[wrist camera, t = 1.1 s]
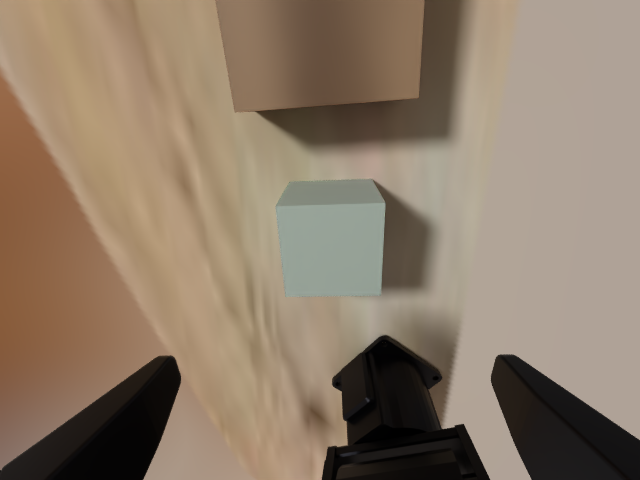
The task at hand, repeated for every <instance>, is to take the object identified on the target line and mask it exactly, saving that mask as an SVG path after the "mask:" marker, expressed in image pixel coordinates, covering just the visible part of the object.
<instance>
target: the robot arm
mask: <svg viewBox="0 0 640 480" xmlns="http://www.w3.org/2000/svg"><path fill="white" fill-rule="evenodd" d="M383 342H386V343H383ZM441 379H442V376H441V374H440V372H439V371H438V370H437V369H435V368H434V367H432V366H431V365H429V364H428V363H426V362H425V361H423V360H422V359H420V358H419V357H417V356H416V355H414V354H413V353H411V352H410V351H408V350H407V349H405V348H404V347H402V346H401V345H399V344H398V343H396V342H395V341H393V340H392V339H390V338H389V337H387V336H380V337H379V338H378V339H376V340H375V341H374V342H373V343H372V344H371V345H370V346H368V347H367V348H366V349H365V350H364V351H363V352H362V353H360V354H359V355H358V356H357V357H355V358H354V359H353V360H352V361H351V362H350V363H349V364H347V365H346V366H345V367H344V368H343V369H342V370H341V371H340V372H339V373H338V374H337V375H336V376H334V377H333V379H332V385H333V387H335V388H336V389H338V390H340V391H342V409H343V419H344V420H345V421H347V439H348V445H347V446H341V447H337V446H331V447H328V449H327V456H326V460H325V462H324V469H323V475H322V480H490V478H489V476H488V474H487V472H486V470H485V468H484V466H483V464H482V462H481V459H480V457H479V455H478V453H477V451H476V449H475V447H474V445H473V443H472V440H471V439H470V436H469V434H468V432H467V430H466V428H465V426H464V424H461V425H455V427H453V428H447V429H442V428H441V425H440V422H439V419H438V416H437V414H436V411H435V408H434V405H433V402H432V399H431V396H430V393H429V390H428V389H430V388H431V387H433V386H434V385H435V384H437V383H438V382H440V381H441ZM180 383H181V375H180V372H179V369H178V365H177V362H176V359H175V358H174V357H173V356H158V357H156V358H155V359H153V360H152V361H150V362H149V363H148V364H146V365H145V366H143V367H142V368H141V369H139V370H138V371H137V372H135V373H134V374H132V375H131V376H129V377H128V378H127V379H126V380H124V381H123V382H121V383H120V384H118V385H117V386H116V387H114V388H113V389H111V390H110V391H109V392H107V393H106V394H104V395H103V396H102V397H100V398H99V399H97V400H96V401H95V402H93V403H92V404H90V405H89V406H88V407H87V408H85V409H83V410H82V411H81V412H79V413H78V414H77V415H75V416H74V417H72V418H71V419H70V420H68V421H67V422H65V423H64V424H63V425H61V426H60V427H58V428H57V429H56V430H54V431H53V432H51V433H50V434H49V435H47V436H46V437H44V438H43V439H42V440H40V441H39V442H37V443H36V444H35V445H33V446H32V447H30V448H29V449H28V450H26V451H25V452H23V453H22V454H21V455H19V456H18V457H16V458H15V459H14V460H13V461H11V462H9V463H8V464H7V465H5V466H4V467H3V468H2V470H0V480H143V479H144V476H145V475H146V472H147V470H148V468H149V466H150V463H151V461H152V459H153V457H154V455H155V452H156V450H157V448H158V446H159V443H160V441H161V438H162V435H163V433H164V430H165V427H166V424H167V421H168V419H169V416H170V413H171V410H172V407H173V404H174V401H175V398H176V395H177V393H178V390H179V387H180ZM491 383H492V386H493V389H494V392H495V394H496V397H497V399H498V402H499V405H500V407H501V410H502V413H503V415H504V418H505V420H506V423H507V426H508V428H509V431H510V433H511V436H512V438H513V441H514V443H515V446H516V448H517V450H518V452H519V455H520V457H521V459H522V461H523V463H524V465H525V467H526V469H527V471H528V473H529V475H530V477H531V479H532V480H640V440H639V439H637V438H635V437H634V436H633V435H631V434H630V433H628V432H627V431H625V430H624V429H622V428H621V427H620V426H618V425H617V424H615V423H613V422H612V421H611V420H609V419H608V418H606V417H605V416H604V415H602V414H601V413H599V412H598V411H596V410H595V409H593V408H592V407H590V406H589V405H587V404H586V403H584V402H583V401H582V400H580V399H579V398H577V397H576V396H574V395H573V394H571V393H570V392H568V391H567V390H565V389H564V388H563V387H561V386H560V385H558V384H557V383H555V382H554V381H552V380H551V379H549V378H548V377H547V376H545V375H544V374H542V373H541V372H539V371H538V370H536V369H535V368H533V367H532V366H530V365H529V364H527V363H526V362H524V361H523V360H521V359H520V358H519V357H517V356H515V355H498V356H497V357H496V359H495V363H494V367H493V371H492V374H491Z"/></svg>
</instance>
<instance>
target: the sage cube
mask: <svg viewBox="0 0 640 480" xmlns="http://www.w3.org/2000/svg"><path fill="white" fill-rule="evenodd" d="M276 215H277V224H278V233H279V242H280V252H281V261H282V270H283V279H284V288H285V297H312V296H380V295H381V282H382V262H383V242H384V222H385V201H384V199H383V198H382V196H381V194H380V192H379V191H378V189H377V187H376V185H375V183H374V182H373V180H372V179H352V180H323V181H294V182H289V184H288V185H287V187H286V189H285V191H284V192H283V194H282V196H281V198H280V199H279V201H278V203H277V205H276Z"/></svg>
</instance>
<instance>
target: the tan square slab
mask: <svg viewBox="0 0 640 480" xmlns="http://www.w3.org/2000/svg"><path fill="white" fill-rule="evenodd" d="M215 1H216V7H217V13H218V18H219V24H220V30H221V36H222V42H223V47H224V53H225V59H226V65H227V70H228V76H229V82H230V88H231V93H232V99H233V105H234V111H235V112H252V111H266V110H279V109H292V108H305V107H317V106H330V105H343V104H356V103H369V102H382V101H395V100H405V99H414V98H419V84H420V68H421V51H422V34H423V18H424V1H425V0H215Z"/></svg>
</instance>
